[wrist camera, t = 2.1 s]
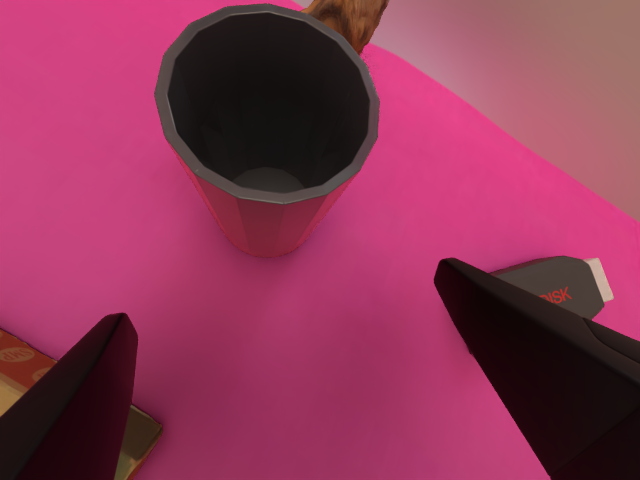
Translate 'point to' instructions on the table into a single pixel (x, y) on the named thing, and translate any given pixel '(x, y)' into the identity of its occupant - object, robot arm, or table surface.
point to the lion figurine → (349, 18)
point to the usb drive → (563, 282)
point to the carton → (30, 365)
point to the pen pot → (267, 120)
